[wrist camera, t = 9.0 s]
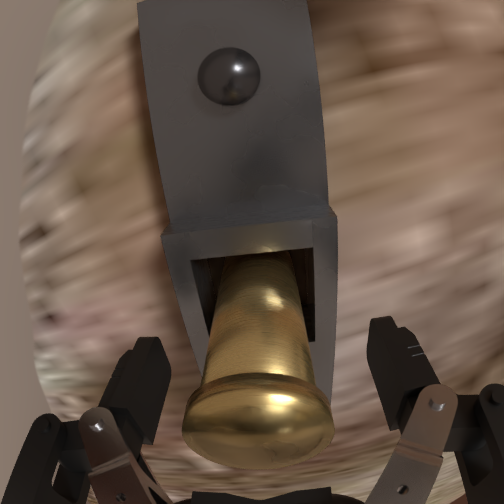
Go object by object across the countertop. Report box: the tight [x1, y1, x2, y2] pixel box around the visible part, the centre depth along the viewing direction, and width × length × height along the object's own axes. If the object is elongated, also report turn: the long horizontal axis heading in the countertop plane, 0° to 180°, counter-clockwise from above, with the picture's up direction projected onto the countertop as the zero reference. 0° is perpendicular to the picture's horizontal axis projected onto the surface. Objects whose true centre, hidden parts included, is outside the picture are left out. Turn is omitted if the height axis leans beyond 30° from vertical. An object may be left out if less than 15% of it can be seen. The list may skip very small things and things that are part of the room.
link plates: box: [137, 0, 338, 405], centre depth 15 cm, size 7×28×4 cm, turn 7°
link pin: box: [182, 250, 335, 470], centre depth 12 cm, size 4×4×10 cm
